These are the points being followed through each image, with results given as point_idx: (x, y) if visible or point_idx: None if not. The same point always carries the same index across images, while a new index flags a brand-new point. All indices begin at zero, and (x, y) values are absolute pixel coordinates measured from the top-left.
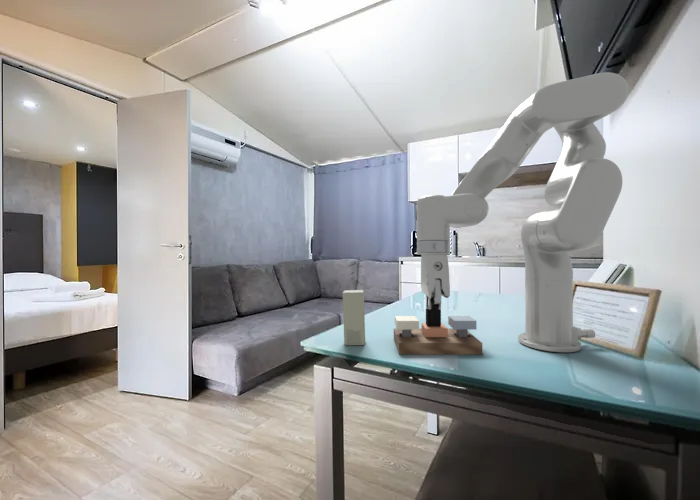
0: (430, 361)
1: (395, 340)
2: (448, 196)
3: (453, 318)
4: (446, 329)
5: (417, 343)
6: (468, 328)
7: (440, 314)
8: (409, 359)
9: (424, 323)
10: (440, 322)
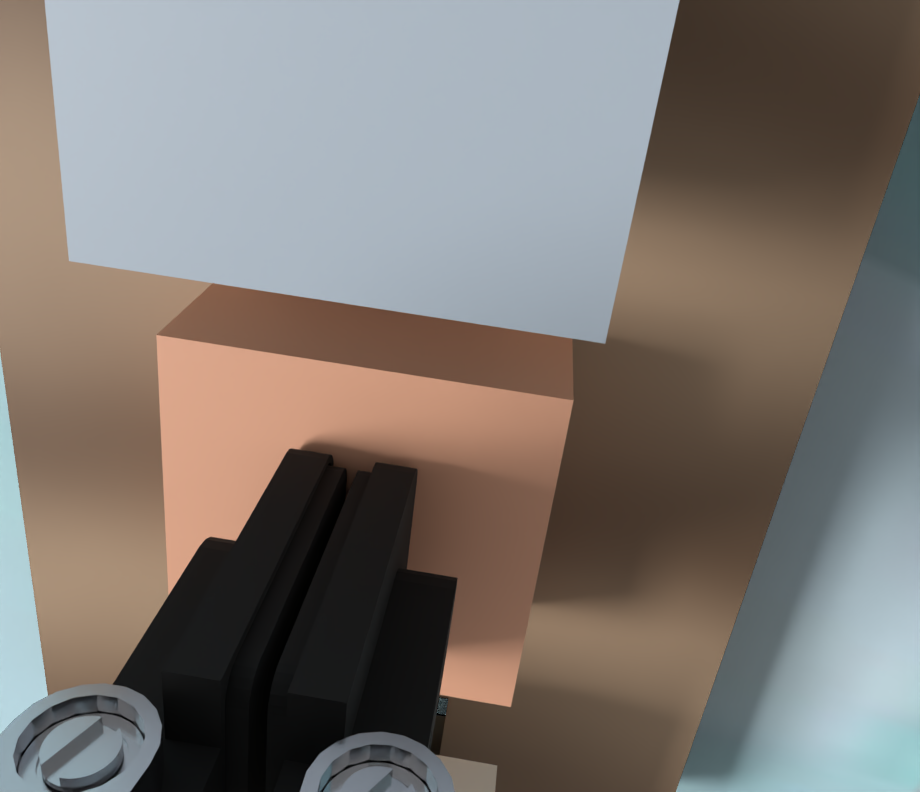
0: (915, 603)
1: None
2: None
3: (362, 255)
4: (566, 409)
5: (690, 737)
6: None
7: (370, 617)
8: (793, 743)
9: None
10: (405, 507)
